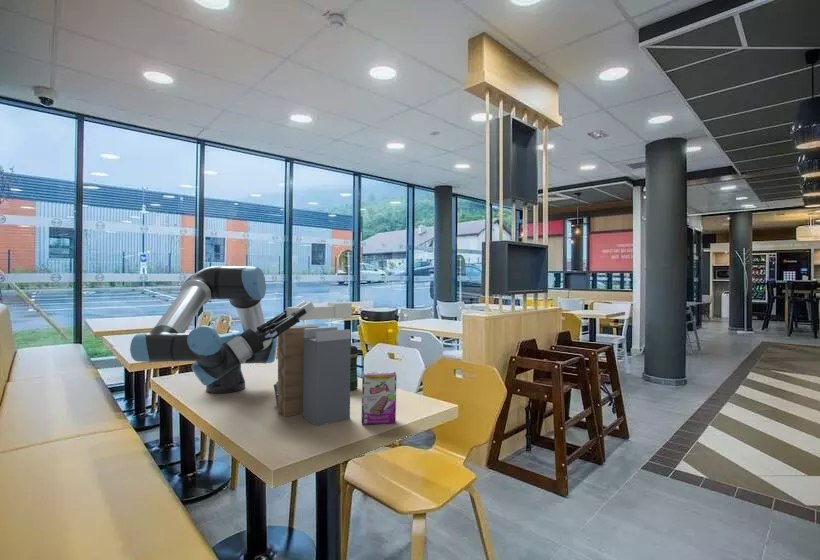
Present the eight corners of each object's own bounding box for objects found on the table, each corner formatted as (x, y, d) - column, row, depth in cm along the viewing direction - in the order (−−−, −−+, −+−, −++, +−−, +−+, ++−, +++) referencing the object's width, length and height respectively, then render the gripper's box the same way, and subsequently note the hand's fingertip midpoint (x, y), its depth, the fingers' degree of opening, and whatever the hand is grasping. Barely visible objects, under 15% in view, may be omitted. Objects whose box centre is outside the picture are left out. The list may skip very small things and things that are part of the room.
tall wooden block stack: (277, 411, 151) (278, 326, 151) (309, 405, 159) (310, 324, 158) (284, 416, 146) (285, 328, 145) (317, 410, 153) (318, 326, 153)
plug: (285, 319, 139) (285, 304, 139) (346, 316, 153) (346, 302, 153) (292, 320, 134) (292, 305, 134) (355, 317, 148) (355, 302, 148)
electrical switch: (280, 408, 155) (279, 382, 156) (272, 406, 159) (271, 381, 159) (302, 402, 163) (300, 377, 163) (293, 401, 166) (292, 376, 166)
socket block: (303, 416, 146) (303, 328, 146) (334, 410, 153) (335, 326, 153) (316, 425, 137) (317, 332, 137) (349, 418, 144) (350, 329, 144)
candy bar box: (361, 425, 138) (362, 374, 138) (361, 420, 143) (361, 371, 143) (396, 424, 140) (396, 373, 139) (394, 418, 145) (394, 370, 144)
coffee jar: (360, 388, 183) (361, 345, 183) (345, 392, 177) (346, 347, 177) (347, 384, 190) (347, 342, 190) (332, 387, 184) (332, 344, 184)
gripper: (244, 351, 137) (304, 312, 149) (261, 360, 123) (326, 316, 135) (232, 331, 135) (294, 293, 147) (248, 338, 121) (315, 295, 133)
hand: (309, 304), depth 141 cm, fingers closed on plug, 4 cm apart
